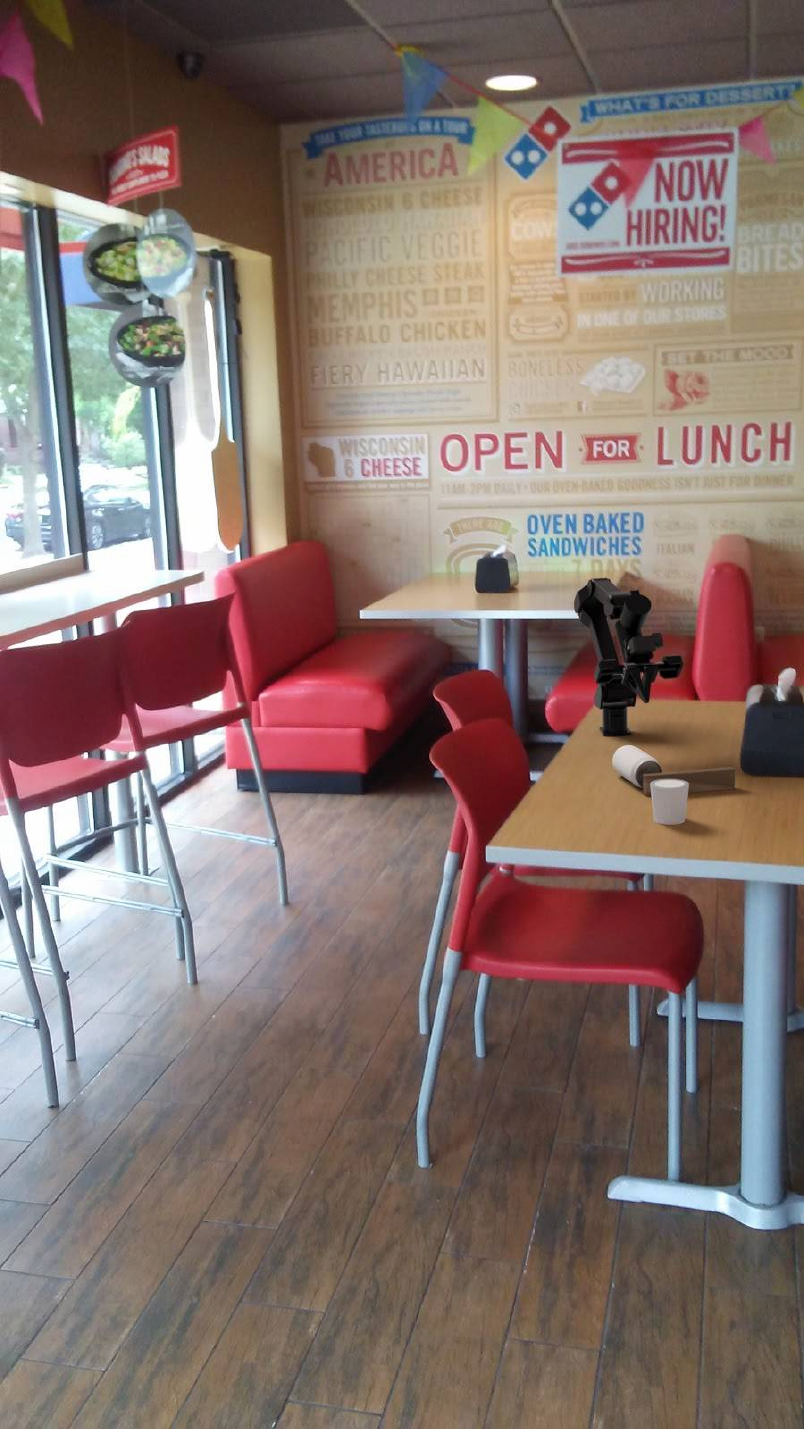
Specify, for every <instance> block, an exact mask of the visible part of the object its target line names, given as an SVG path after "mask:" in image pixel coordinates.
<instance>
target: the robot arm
mask: <svg viewBox="0 0 804 1429" xmlns="http://www.w3.org/2000/svg"><path fill="white" fill-rule="evenodd" d="M573 600H574V601H573V608H574V609H573V610H574V613H575V614H577V616H578V619H579V622H580V623H581V624H583V625H584V626H585V627H587V628H588V630H589V633H590V637H591V639H592V640H591V641H592V644H593V648H594V651H595V654H596V658H597V663H596V666H595V670H594V673H593V678H594V683H595V684H596V685H597V687H596V690H595V693H594V695H593V701H594V706H595V707H596V708H598V709H599V710H602V726H600V727H598V728H599V731H600V732H601V734H602V735H603V736H619V735H621V736H622V735H631V734H632V731H631V729H630V728H629V727H628V708H635V707H636V704H637V697H639V699H640V700H641V701H642V702H643V703H644V704H648V703H649V702H650V698H651V688H652V683H653V684H654V683H655V681H656V679H657V676H658V675H659V676H660V677H661V678H662V679H663V680H670V679H677V678H679V677H680V674H681V673H682V670H683V668H684V665H685V661H684V658H683V657H682V656H681V655H680V654H679V653H678V654H664V655H663V656H662V658H661V660H660V661H653V662H651V660H652V659H653V658H654V652H656V651H657V650H659V649H662V647H663V646H664V638H663V635H662V633H661V632H653V633H652V634H650V635H644V632H643V627H645V626H646V623H647V621H648V618H649V615H650V613H651V609H652V604H653V603H652V600H650V598H649V597H647V596H646V595H644V594H641V593H640V590H639V589H636V590H635V589H634V590H629V591H622V590H621V589H619V588H618V586H616V585H615V584H614V583H613V582H612V579H610V578H608V577H597V578H595V577H593V578H590V579H589V580H588V581H587V583H586V585H584V586H583V587H582V588H580V589H579V590H577V592H576V594H575V598H574V599H573ZM608 620H610V621H616V622H615V624H614V636H615V637H616V640H617V643H618V644H617V645H618V648H619V655H618V653H617V652H618V651H617V649H616V648H617V647H616V645H615V642H614V639H613V634H612V631H611V628H610V624H609V621H608ZM620 659H622V663H623V664H622V663H621V662H620Z"/></svg>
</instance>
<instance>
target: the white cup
mask: <svg viewBox="0 0 804 1429" xmlns="http://www.w3.org/2000/svg"><path fill="white" fill-rule="evenodd" d="M650 786H651V796H650V797H651V804H652V814H653V815H652V816H653V821H654V823H657V824H659V825H660V824H661V825H664V826H665V825H666V826H667V825H669V826H672V825H674V826H675V825H680V824H683V823H685V822H686V819H687V818H686V816H687V806H688V805H687V804H688V797H689V796H688V795H689V793H688V787H689V783H688V782H686V781H683V780H679V779H659V780H655V781H653V782H651V784H650Z"/></svg>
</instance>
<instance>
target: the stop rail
mask: <svg viewBox="0 0 804 1429" xmlns="http://www.w3.org/2000/svg"><path fill="white" fill-rule="evenodd" d="M659 779H679V780H683V781H686V782H688V783H689V787H688V794H690V793H701V792H712V791H722V790H723V791H725V790H726V791H727V790H734V789H736V769H735V767H733V766H729V767H728V766H726V767H716V768H703V769H691V770H681V771H678V770H677V771H667V772H662V773H653V774H643V788H642V794H643V795H644V796H645V797H652V796H651V786H650V784H651V782H653V781H655V780H659Z"/></svg>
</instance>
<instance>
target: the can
mask: <svg viewBox="0 0 804 1429" xmlns="http://www.w3.org/2000/svg"><path fill="white" fill-rule="evenodd" d="M611 764H612V767H613V769H614V770H615V772H616V773H617V774H618V775H620V776H622V777H623V778H624V779H626V780H628V782H630V783H632V784H633V785H634V786H636V787H638V788H641V789H643V774H653V773H663V769H662V767H661V765H660V762H659V761H658V760H657V759H656V758H654V757H653V756H651V755H650V754H648V753H646V752H645V751H643V750H641V749H640V748H638V747H636V746H635V745H631V744H625V745H623V746H620V747H619V748H618V749H616V750H615V751H614V753H613V756H612V760H611Z"/></svg>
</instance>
